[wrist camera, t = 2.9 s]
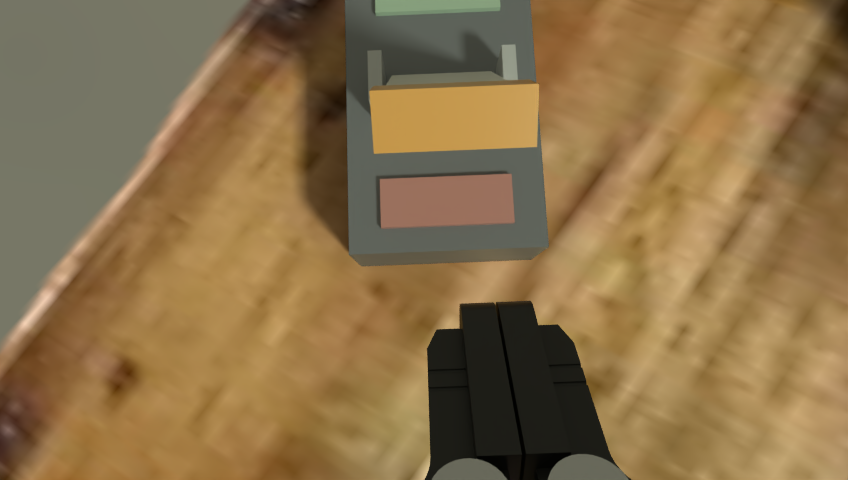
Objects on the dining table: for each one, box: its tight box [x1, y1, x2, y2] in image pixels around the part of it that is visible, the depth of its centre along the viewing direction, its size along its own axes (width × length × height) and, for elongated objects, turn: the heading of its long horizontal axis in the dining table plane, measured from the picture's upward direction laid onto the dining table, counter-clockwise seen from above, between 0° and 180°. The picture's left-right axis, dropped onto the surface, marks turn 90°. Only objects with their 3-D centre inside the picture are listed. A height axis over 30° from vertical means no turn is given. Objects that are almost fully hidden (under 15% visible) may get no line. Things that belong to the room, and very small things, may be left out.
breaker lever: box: [369, 71, 539, 154], centre depth 28 cm, size 2×6×14 cm, turn 92°
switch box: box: [345, 0, 549, 266], centre depth 36 cm, size 20×12×9 cm, turn 2°
